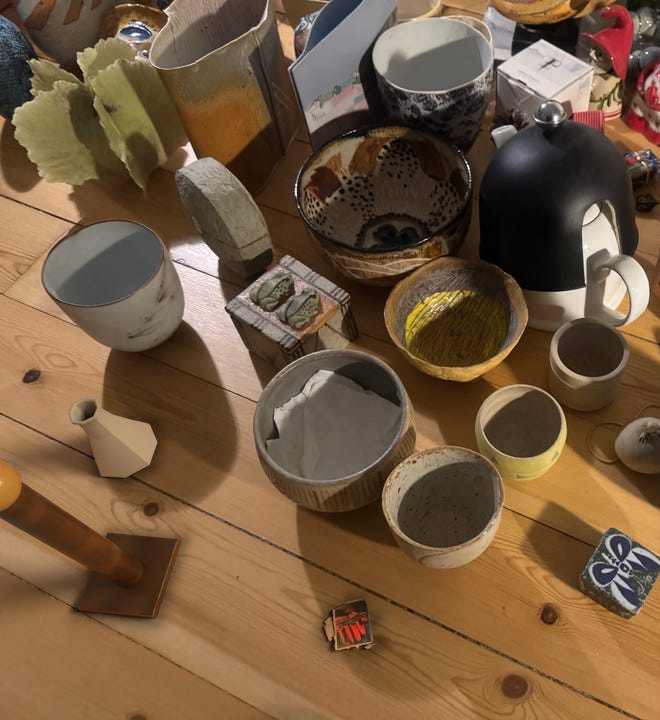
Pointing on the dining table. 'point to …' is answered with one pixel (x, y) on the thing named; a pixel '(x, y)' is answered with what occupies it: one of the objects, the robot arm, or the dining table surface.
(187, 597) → the dining table surface
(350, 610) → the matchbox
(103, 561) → the post
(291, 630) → the dining table surface
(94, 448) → the flask
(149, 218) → the dining table surface
